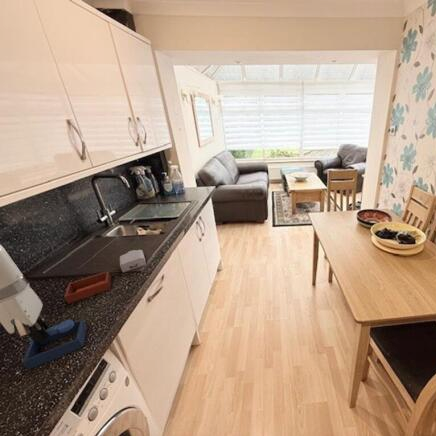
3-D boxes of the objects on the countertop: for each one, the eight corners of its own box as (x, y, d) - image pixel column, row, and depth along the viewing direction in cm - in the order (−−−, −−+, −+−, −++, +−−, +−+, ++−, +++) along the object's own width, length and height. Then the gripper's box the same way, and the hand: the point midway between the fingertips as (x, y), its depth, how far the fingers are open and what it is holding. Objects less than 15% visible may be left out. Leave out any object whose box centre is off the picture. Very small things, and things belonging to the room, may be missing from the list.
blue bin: (29, 371, 67) (22, 362, 65) (39, 346, 74) (32, 337, 72) (83, 348, 72) (78, 339, 71) (87, 327, 80) (82, 318, 78)
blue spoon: (30, 345, 67) (27, 341, 66) (34, 336, 70) (31, 332, 69) (73, 328, 72) (70, 325, 71) (75, 320, 74) (72, 317, 74)
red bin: (69, 304, 90) (64, 296, 88) (73, 290, 97) (68, 283, 95) (110, 290, 96) (106, 282, 94) (111, 278, 103) (108, 270, 101)
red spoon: (76, 296, 93) (75, 293, 92) (78, 291, 96) (76, 288, 95) (106, 286, 97) (104, 283, 97) (107, 282, 100) (105, 279, 99)
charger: (143, 251, 121) (146, 265, 110) (122, 258, 117) (123, 273, 106) (140, 243, 119) (143, 257, 108) (118, 250, 115) (119, 264, 104)
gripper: (-1, 278, 66) (34, 324, 74) (-31, 314, 54) (16, 365, 62) (35, 267, 70) (65, 313, 77) (15, 299, 57) (53, 350, 65)
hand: (43, 336), depth 70 cm, fingers closed on blue spoon, 1 cm apart
